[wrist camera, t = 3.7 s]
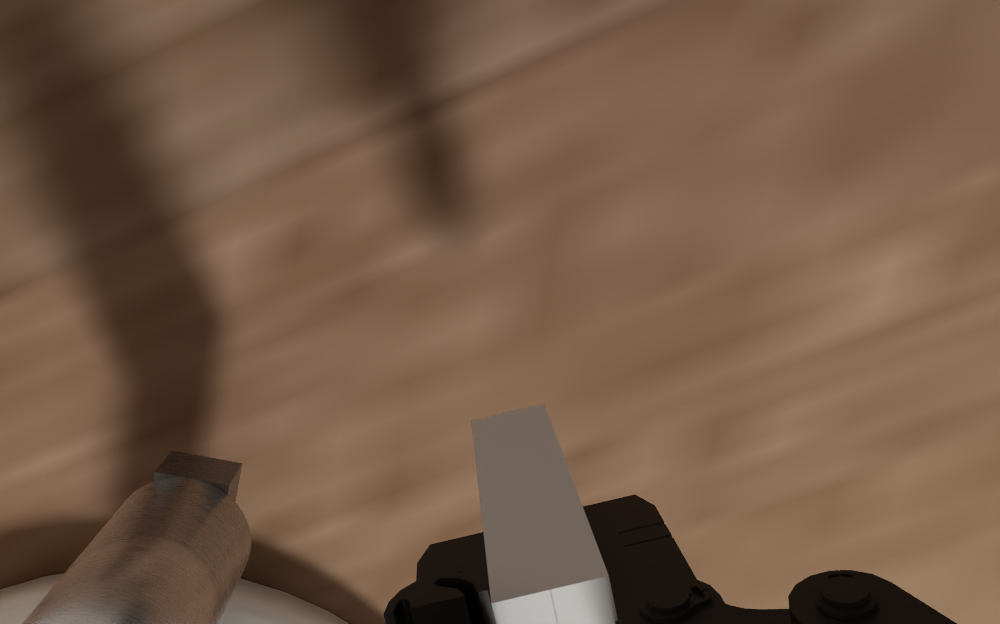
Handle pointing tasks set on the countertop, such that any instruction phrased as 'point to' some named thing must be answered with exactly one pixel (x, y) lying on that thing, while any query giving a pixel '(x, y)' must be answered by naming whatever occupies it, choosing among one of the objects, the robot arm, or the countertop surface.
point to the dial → (160, 553)
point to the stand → (248, 619)
